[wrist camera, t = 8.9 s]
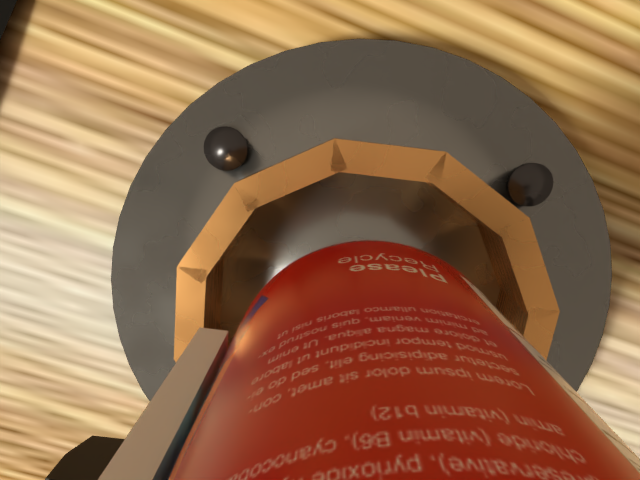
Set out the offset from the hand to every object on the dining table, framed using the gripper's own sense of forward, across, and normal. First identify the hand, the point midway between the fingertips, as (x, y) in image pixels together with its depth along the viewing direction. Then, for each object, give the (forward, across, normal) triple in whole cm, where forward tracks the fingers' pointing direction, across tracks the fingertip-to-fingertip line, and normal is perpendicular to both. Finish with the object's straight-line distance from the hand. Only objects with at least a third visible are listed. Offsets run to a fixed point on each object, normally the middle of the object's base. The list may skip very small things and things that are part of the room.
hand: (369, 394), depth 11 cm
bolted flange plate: (+7, 0, 0) cm, 7 cm away
